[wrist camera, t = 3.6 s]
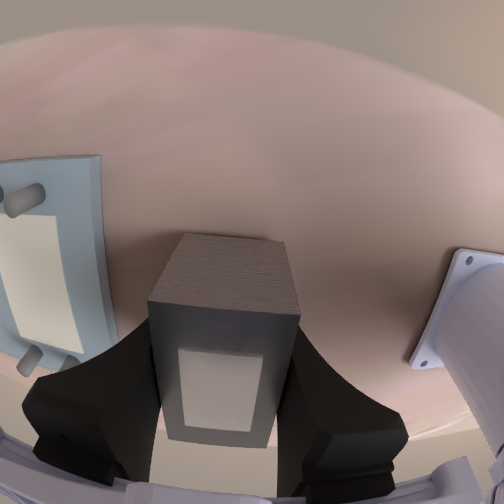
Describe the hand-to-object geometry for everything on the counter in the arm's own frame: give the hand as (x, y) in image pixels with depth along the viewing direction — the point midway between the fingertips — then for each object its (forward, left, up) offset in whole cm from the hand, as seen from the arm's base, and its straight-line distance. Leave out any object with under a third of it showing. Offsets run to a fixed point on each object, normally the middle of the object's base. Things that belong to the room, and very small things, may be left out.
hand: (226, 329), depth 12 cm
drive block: (0, 0, -1) cm, 1 cm away
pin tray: (+16, 0, -2) cm, 16 cm away
